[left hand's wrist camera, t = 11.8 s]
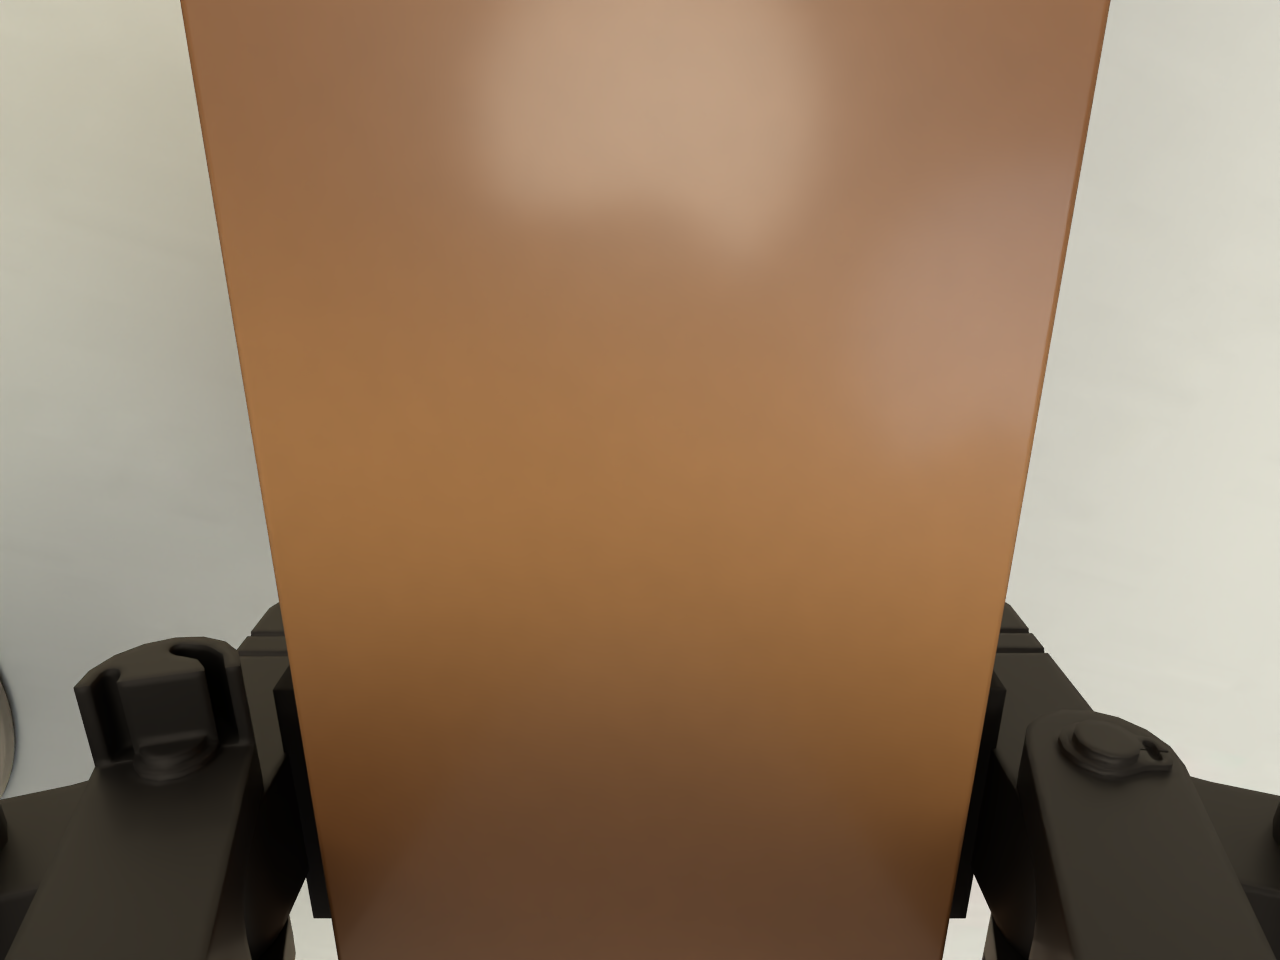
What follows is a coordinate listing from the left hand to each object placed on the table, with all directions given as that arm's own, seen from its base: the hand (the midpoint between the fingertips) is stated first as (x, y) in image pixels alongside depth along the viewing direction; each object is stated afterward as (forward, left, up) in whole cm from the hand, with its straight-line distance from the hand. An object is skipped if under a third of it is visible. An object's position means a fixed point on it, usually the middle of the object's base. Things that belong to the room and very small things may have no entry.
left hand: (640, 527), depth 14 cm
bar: (+10, +31, -1) cm, 33 cm away
